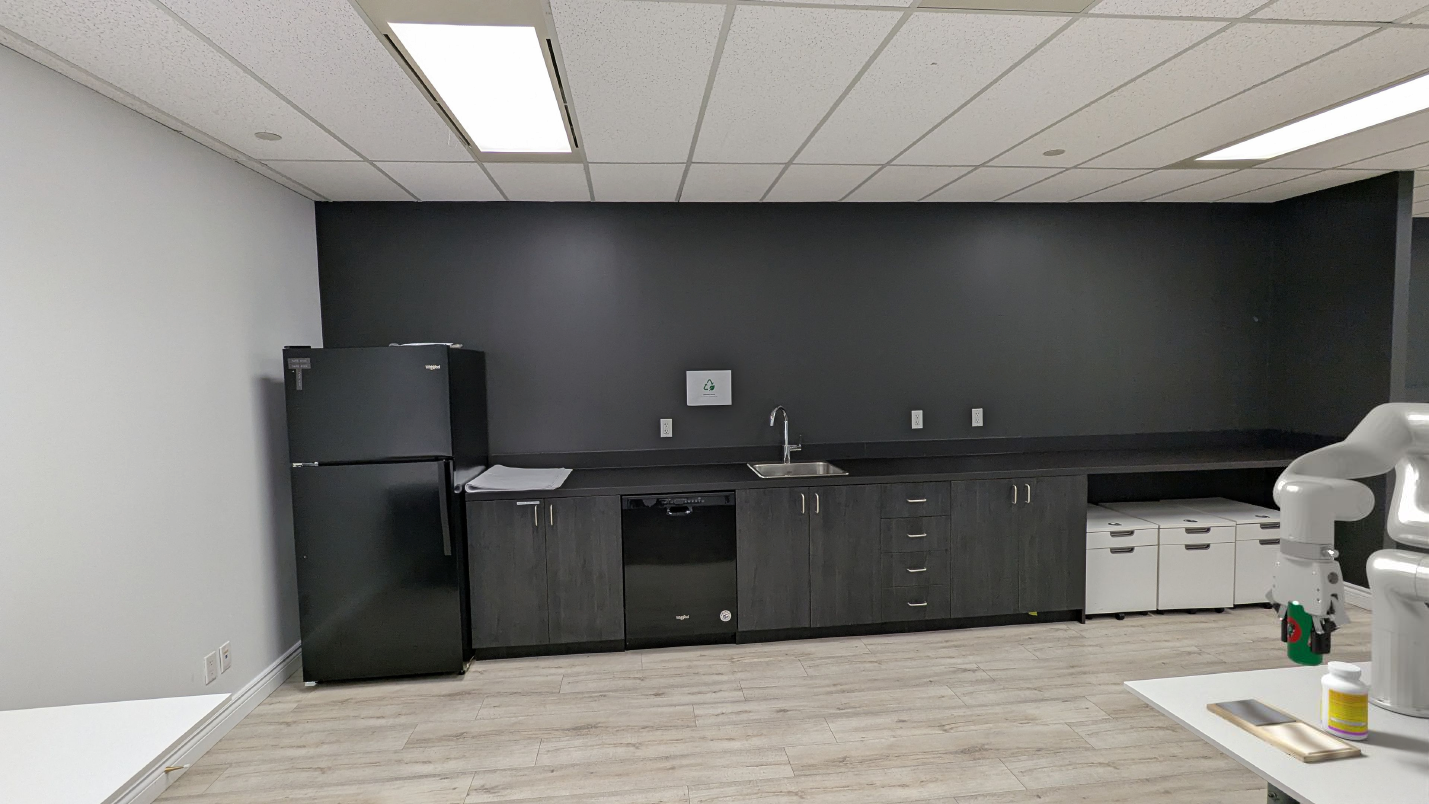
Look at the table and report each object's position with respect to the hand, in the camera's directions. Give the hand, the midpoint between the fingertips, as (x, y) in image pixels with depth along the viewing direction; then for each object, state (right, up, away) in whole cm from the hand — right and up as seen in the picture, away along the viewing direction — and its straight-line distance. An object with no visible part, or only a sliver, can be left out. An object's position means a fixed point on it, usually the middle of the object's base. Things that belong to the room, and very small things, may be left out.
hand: (1305, 646), depth 128 cm
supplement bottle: (+11, -18, +4) cm, 22 cm away
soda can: (0, -3, 0) cm, 3 cm away
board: (0, -18, +6) cm, 19 cm away
